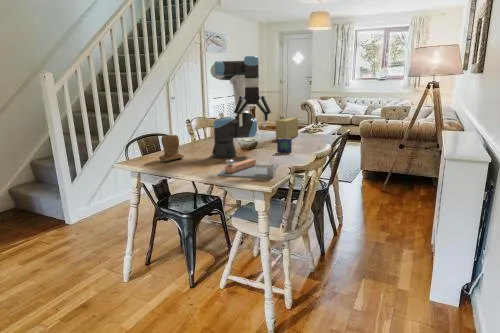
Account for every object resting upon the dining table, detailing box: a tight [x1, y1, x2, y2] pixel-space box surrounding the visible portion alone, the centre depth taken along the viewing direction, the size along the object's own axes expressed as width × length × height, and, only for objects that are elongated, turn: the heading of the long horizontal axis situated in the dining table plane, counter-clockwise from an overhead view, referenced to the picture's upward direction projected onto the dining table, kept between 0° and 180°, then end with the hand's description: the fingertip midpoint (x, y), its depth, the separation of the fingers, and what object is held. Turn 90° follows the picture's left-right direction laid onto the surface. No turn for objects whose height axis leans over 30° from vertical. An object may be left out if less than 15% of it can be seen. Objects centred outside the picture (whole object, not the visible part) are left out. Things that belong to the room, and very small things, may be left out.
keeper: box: [255, 159, 276, 178], centre depth 169 cm, size 9×8×6 cm
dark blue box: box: [276, 136, 293, 154], centre depth 216 cm, size 9×3×11 cm, turn 95°
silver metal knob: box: [225, 158, 235, 166], centre depth 173 cm, size 4×4×3 cm
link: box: [224, 158, 257, 173], centre depth 179 cm, size 21×5×3 cm, turn 140°
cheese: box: [275, 116, 299, 140], centre depth 264 cm, size 22×10×15 cm, turn 137°
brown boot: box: [158, 134, 185, 163], centre depth 204 cm, size 15×12×15 cm
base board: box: [217, 161, 280, 180], centre depth 180 cm, size 26×26×1 cm
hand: (252, 126), depth 187 cm, fingers open, 13 cm apart
